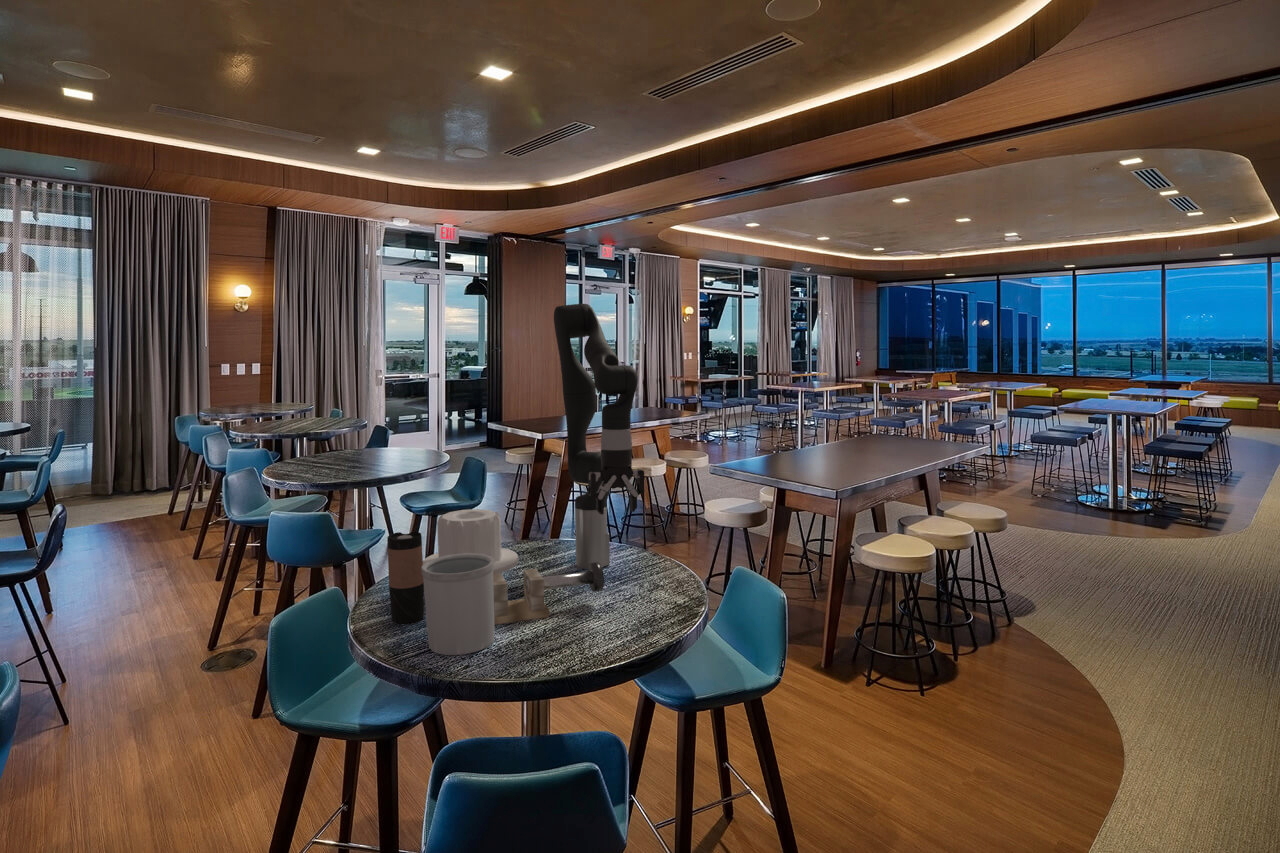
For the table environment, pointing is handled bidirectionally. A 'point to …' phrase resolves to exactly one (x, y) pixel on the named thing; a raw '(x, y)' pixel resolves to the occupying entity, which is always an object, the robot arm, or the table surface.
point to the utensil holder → (459, 603)
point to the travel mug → (406, 577)
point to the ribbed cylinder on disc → (473, 537)
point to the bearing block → (520, 608)
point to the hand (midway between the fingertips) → (616, 512)
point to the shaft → (576, 579)
